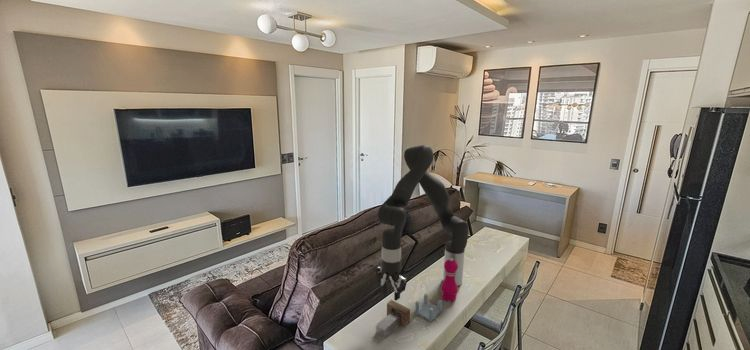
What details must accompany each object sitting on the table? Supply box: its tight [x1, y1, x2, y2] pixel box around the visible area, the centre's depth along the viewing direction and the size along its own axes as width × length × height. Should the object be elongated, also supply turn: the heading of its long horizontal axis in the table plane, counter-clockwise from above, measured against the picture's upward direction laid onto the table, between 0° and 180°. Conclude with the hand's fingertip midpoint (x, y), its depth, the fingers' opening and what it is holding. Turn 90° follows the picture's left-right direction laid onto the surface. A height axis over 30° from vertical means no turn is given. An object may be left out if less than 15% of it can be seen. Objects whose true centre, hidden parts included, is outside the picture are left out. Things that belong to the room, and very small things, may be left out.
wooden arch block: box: [386, 299, 411, 327], centre depth 129 cm, size 3×10×6 cm, turn 49°
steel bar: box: [375, 310, 401, 339], centre depth 125 cm, size 16×4×4 cm, turn 141°
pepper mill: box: [440, 257, 459, 302], centre depth 141 cm, size 7×7×20 cm
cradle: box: [413, 293, 443, 322], centre depth 133 cm, size 9×8×5 cm
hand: (390, 296), depth 122 cm, fingers open, 5 cm apart
